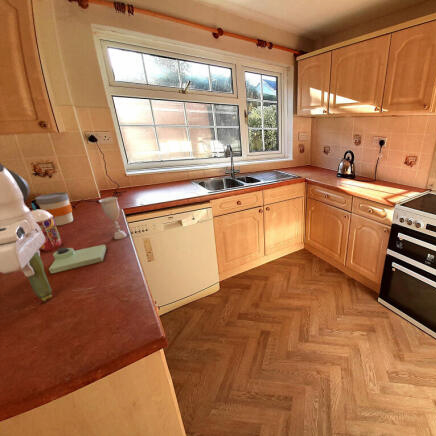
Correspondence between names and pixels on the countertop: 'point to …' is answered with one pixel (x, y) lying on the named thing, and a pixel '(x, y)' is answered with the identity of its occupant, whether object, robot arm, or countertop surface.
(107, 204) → the chalice
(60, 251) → the tare button
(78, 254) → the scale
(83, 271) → the countertop surface
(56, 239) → the smoothie
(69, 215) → the reusable coffee cup
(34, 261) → the vegetable
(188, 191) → the countertop surface
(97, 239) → the countertop surface
